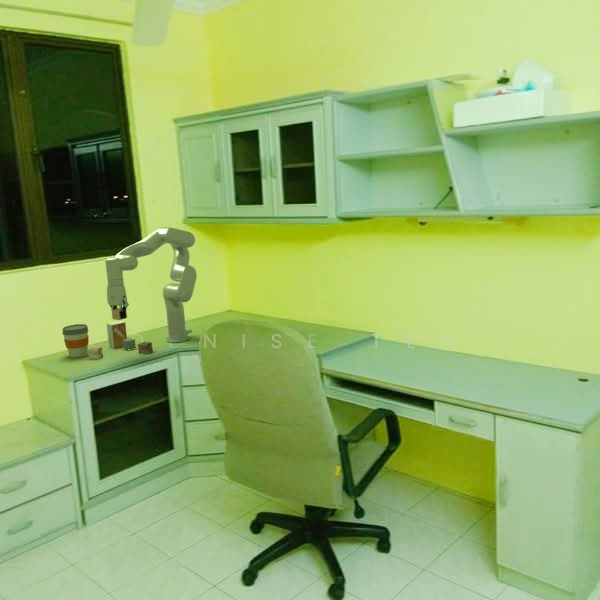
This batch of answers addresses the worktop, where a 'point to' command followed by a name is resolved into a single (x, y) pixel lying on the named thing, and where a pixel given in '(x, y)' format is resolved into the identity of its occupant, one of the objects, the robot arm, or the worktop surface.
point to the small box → (116, 333)
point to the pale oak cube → (95, 352)
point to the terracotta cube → (117, 314)
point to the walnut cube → (145, 347)
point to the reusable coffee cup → (76, 339)
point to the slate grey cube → (128, 343)
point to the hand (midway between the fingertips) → (119, 317)
